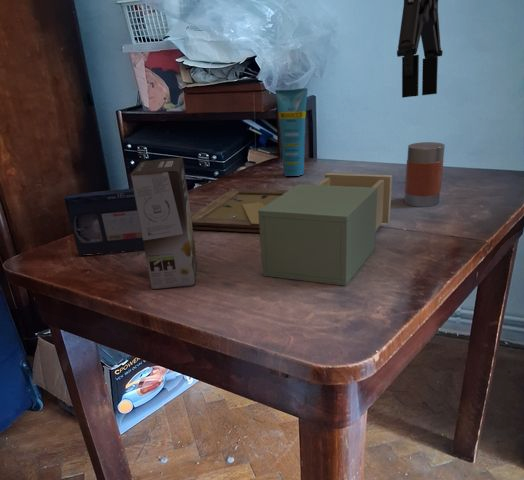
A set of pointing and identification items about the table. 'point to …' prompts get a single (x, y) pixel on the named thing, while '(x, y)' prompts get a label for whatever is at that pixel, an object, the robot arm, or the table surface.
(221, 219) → the picture frame
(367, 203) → the cabinet
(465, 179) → the table surface
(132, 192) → the vhs cassette tape
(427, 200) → the tin can
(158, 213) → the coffee box
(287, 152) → the tube
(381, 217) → the drawer
